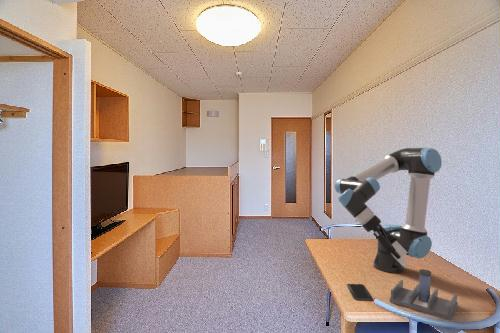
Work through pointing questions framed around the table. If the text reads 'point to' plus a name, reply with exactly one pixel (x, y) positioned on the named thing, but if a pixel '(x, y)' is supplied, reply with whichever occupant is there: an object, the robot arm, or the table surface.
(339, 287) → the table surface
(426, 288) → the grey cylinder
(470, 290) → the table surface
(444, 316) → the rack
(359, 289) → the phone
